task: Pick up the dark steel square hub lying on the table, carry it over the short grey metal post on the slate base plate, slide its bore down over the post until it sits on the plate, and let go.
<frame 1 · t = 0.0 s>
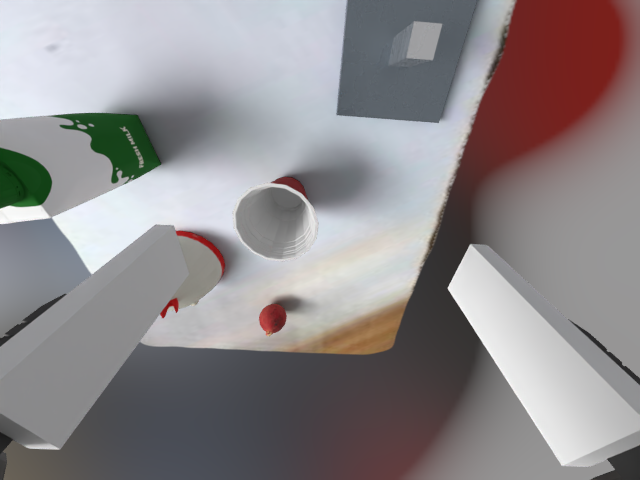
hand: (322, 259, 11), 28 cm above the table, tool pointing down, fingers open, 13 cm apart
milk carton: (128, 143, 34), on the table
chicken hat: (190, 259, 47), on the table
onion: (276, 304, 53), on the table
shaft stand: (398, 54, 28), on the table
plastic cup: (287, 191, 38), on the table
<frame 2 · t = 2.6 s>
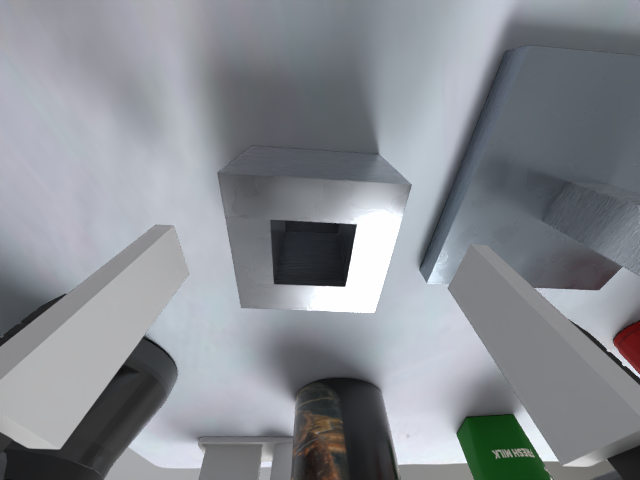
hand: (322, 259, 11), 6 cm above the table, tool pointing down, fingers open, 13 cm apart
milk carton: (482, 423, 36), on the table
hub: (313, 208, 16), on the table
jar: (339, 397, 31), on the table
phone holder: (254, 445, 41), on the table
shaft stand: (553, 194, 15), on the table
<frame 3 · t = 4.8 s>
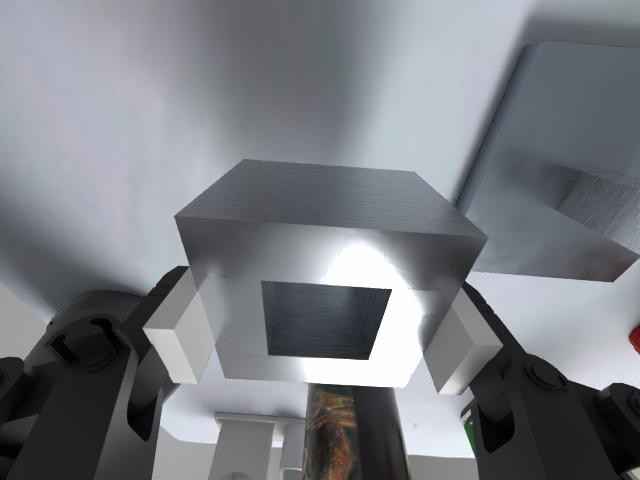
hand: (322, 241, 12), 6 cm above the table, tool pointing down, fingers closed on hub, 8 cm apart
hub: (323, 237, 12), point 6 cm above the table, touching gripper
jar: (350, 381, 32), on the table
phone holder: (266, 425, 43), on the table
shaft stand: (568, 185, 16), on the table
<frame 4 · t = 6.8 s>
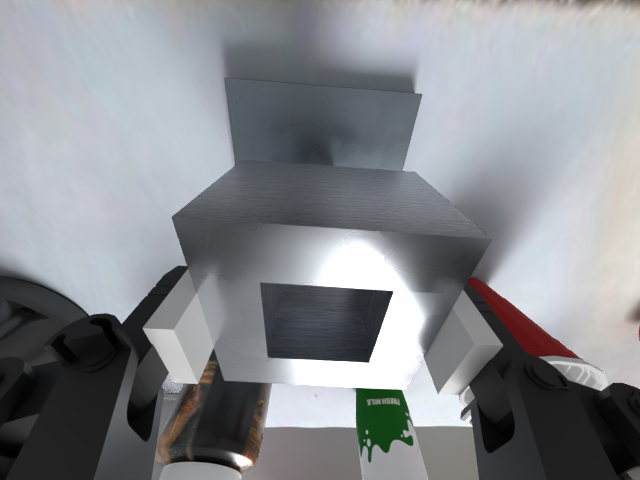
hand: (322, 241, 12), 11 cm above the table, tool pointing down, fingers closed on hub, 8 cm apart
milk carton: (375, 383, 42), on the table
hub: (323, 238, 12), point 11 cm above the table, touching gripper
jar: (239, 354, 37), on the table
phone holder: (186, 404, 47), on the table
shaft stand: (318, 177, 21), on the table
plastic cup: (457, 293, 29), on the table
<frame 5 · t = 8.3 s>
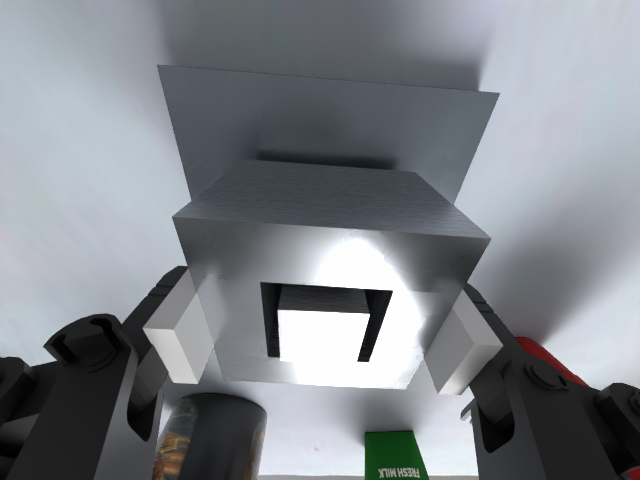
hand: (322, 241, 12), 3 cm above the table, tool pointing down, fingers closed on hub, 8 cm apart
milk carton: (387, 438, 35), on the table
hub: (323, 238, 12), point 3 cm above the table, touching gripper
jar: (223, 411, 30), on the table
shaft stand: (320, 216, 14), on the table
plastic cup: (500, 352, 23), on the table
when the fingers open (2 cm above the table, at t = 8.9 s): hub stays where it is, resting on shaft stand.
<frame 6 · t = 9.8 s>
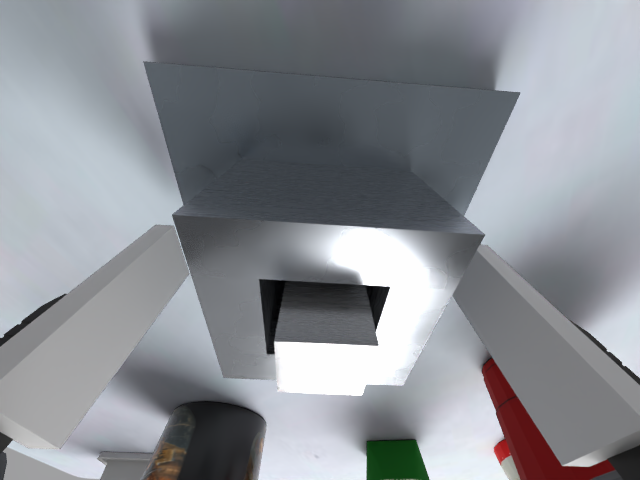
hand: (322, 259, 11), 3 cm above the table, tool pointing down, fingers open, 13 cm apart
milk carton: (389, 446, 35), on the table
chicken hat: (544, 441, 33), on the table
hub: (321, 236, 12), point 1 cm above the table, touching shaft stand
jar: (221, 419, 30), on the table
phone holder: (163, 461, 40), on the table
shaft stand: (322, 223, 13), on the table
plastic cup: (509, 363, 22), on the table
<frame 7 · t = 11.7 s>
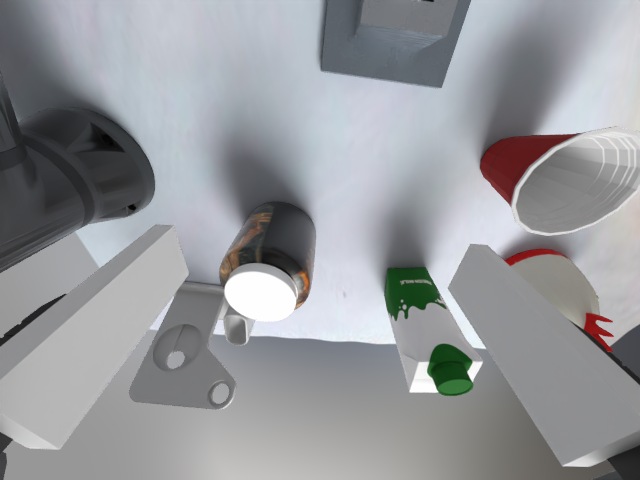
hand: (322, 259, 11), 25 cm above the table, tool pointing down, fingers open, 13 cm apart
milk carton: (403, 281, 44), on the table
chicken hat: (522, 277, 43), on the table
jar: (282, 232, 39), on the table
phone holder: (218, 301, 49), on the table
plastic cup: (499, 159, 32), on the table
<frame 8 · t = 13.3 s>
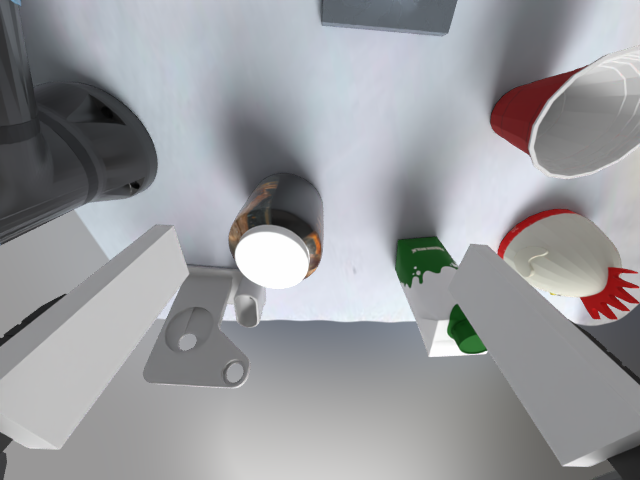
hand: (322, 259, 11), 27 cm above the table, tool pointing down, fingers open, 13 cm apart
milk carton: (414, 253, 43), on the table
chicken hat: (537, 242, 42), on the table
jar: (288, 206, 38), on the table
phone holder: (226, 285, 49), on the table
plastic cup: (509, 112, 31), on the table
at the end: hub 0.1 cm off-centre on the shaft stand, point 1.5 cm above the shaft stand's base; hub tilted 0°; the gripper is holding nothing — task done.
